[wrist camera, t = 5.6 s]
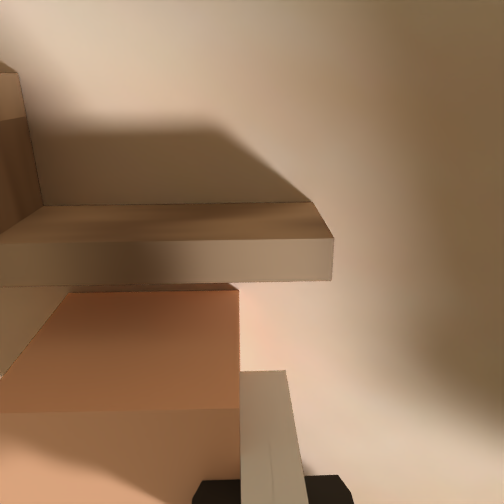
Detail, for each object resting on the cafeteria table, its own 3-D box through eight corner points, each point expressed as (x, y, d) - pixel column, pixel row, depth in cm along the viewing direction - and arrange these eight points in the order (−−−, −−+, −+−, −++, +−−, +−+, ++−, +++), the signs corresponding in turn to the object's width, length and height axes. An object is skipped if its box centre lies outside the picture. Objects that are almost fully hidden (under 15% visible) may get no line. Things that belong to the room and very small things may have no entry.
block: (239, 290, 16) (238, 408, 10) (240, 422, 18) (241, 578, 12) (68, 292, 15) (-27, 413, 10) (92, 425, 18) (24, 585, 12)
